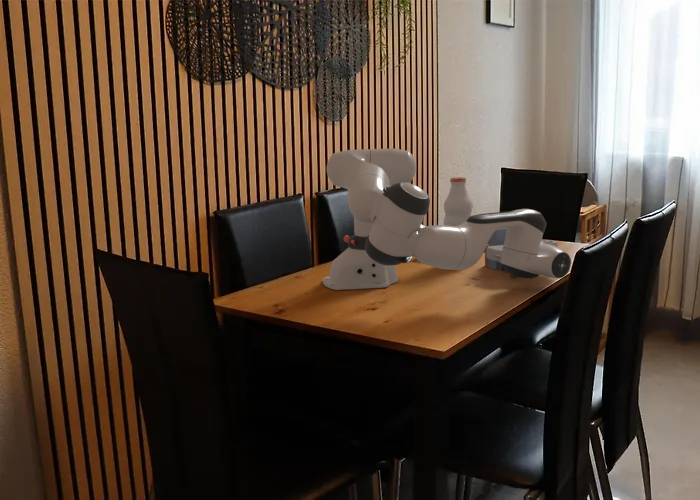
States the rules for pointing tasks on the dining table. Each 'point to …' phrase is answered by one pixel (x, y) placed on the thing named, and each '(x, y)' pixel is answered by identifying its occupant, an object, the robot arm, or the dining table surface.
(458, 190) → the fruit juice
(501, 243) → the block
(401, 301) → the dining table surface
